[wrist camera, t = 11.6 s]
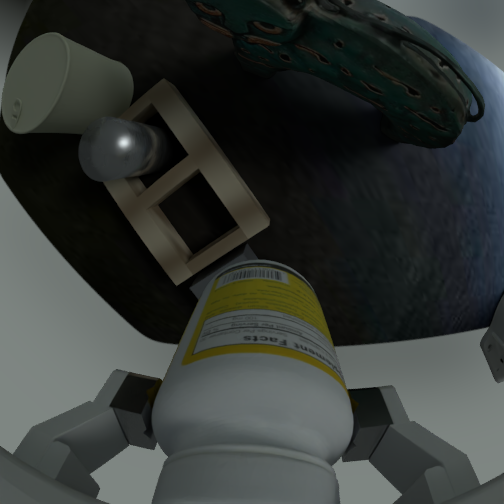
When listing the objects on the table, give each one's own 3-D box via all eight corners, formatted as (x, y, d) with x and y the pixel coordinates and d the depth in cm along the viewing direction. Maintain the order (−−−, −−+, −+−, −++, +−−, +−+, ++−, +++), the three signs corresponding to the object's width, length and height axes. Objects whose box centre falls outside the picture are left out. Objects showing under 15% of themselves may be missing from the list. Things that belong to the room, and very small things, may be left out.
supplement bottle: (261, 375, 14) (248, 557, 5) (178, 311, 13) (81, 495, 4) (343, 310, 13) (416, 511, 3) (258, 229, 12) (218, 450, 2)
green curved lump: (221, 73, 24) (134, -45, 6) (249, 24, 23) (211, -117, 4) (400, 160, 26) (556, 180, 7) (421, 110, 24) (568, 80, 5)
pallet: (269, 218, 29) (269, 225, 26) (184, 274, 31) (176, 285, 28) (174, 85, 25) (163, 78, 22) (99, 151, 28) (84, 152, 25)
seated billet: (186, 153, 27) (143, 152, 18) (151, 182, 28) (98, 194, 19) (161, 118, 26) (110, 103, 17) (127, 147, 27) (69, 147, 18)
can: (59, 121, 27) (-13, 118, 15) (92, 53, 24) (26, 26, 12) (110, 148, 27) (34, 150, 16) (148, 73, 25) (85, 37, 13)
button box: (281, 291, 31) (281, 307, 28) (232, 318, 32) (228, 335, 29) (246, 243, 30) (243, 253, 26) (198, 274, 31) (189, 288, 28)
